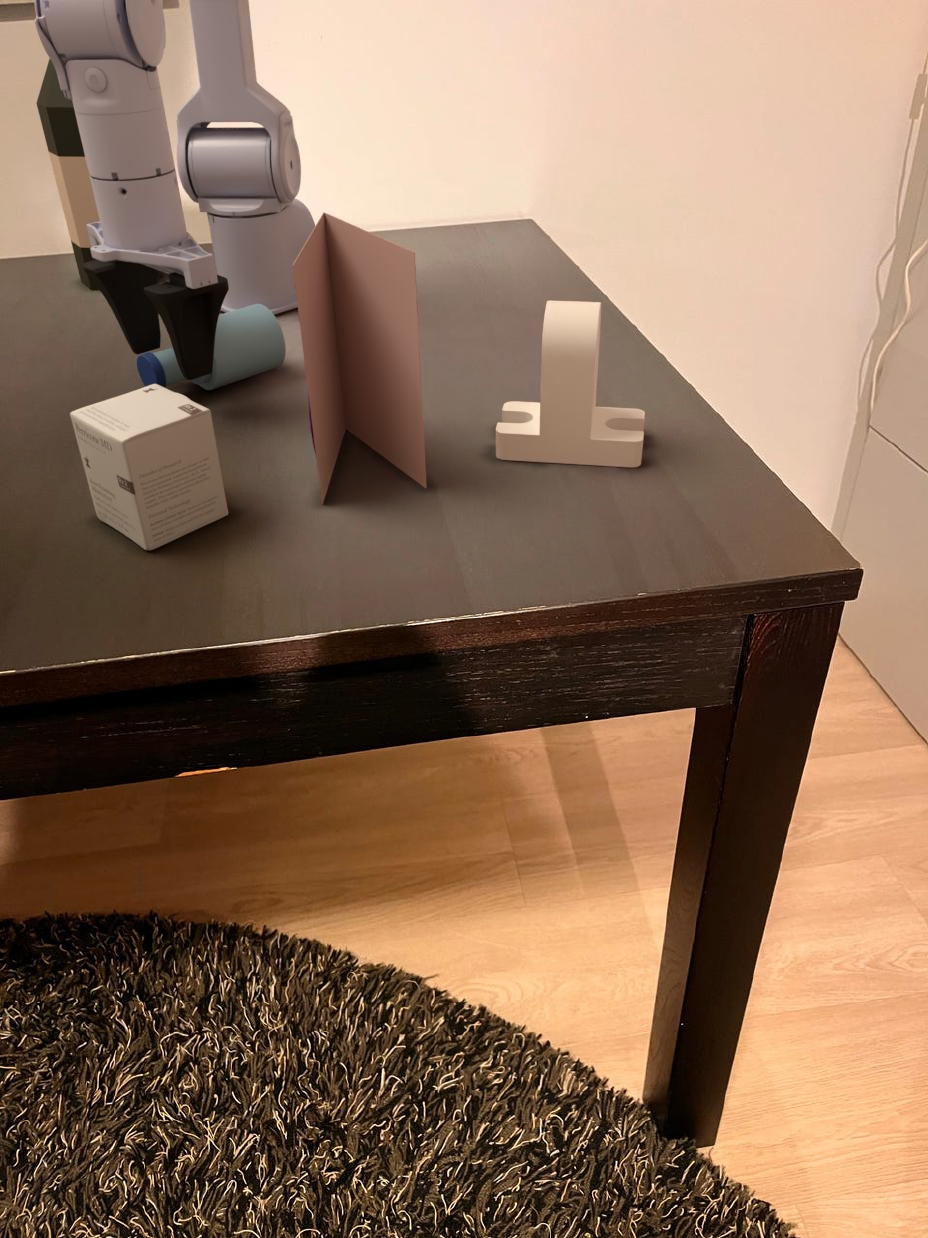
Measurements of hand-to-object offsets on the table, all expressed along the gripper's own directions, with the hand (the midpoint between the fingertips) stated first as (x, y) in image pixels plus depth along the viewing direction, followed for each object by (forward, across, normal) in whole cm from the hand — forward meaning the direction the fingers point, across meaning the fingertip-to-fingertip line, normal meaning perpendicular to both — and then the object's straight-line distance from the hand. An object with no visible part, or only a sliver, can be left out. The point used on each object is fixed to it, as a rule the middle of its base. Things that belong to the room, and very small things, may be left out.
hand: (171, 362), depth 75 cm
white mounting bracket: (+3, +28, +14) cm, 32 cm away
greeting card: (+3, +20, +3) cm, 21 cm away
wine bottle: (+3, -32, +12) cm, 34 cm away
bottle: (0, 0, +9) cm, 9 cm away
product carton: (+3, +16, -11) cm, 19 cm away
